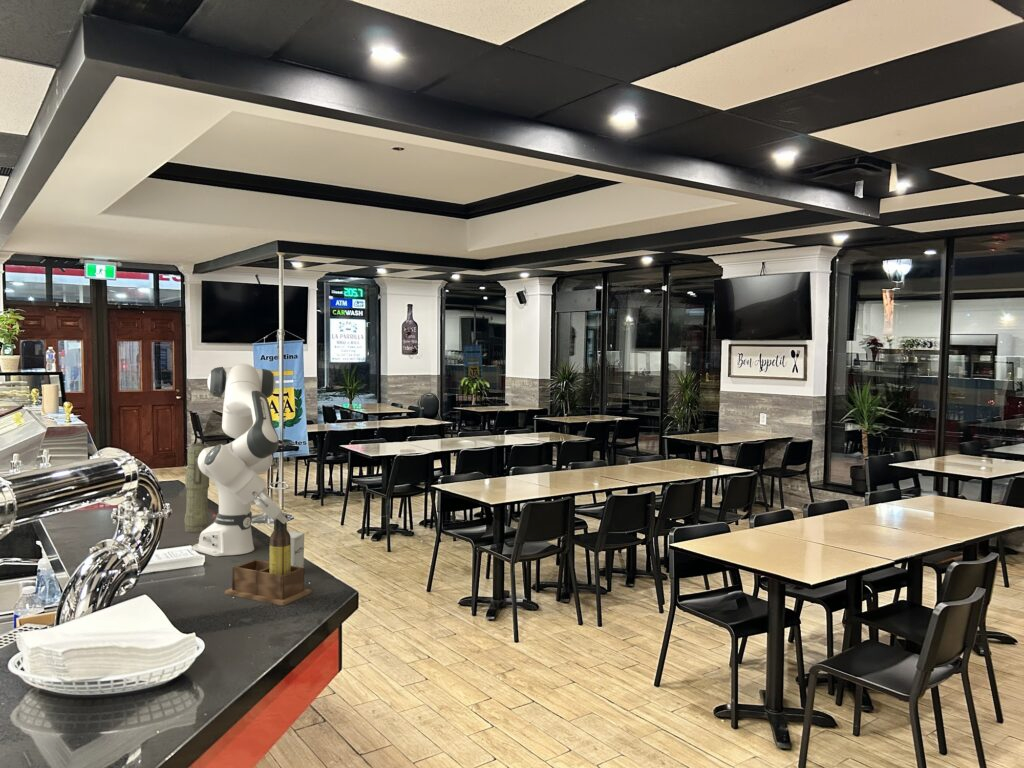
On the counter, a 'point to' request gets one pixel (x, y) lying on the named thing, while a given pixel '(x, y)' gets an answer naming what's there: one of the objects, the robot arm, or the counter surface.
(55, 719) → the counter surface
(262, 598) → the condiment caddy
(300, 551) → the supplement box
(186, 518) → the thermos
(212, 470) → the robot arm
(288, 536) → the sauce bottle
